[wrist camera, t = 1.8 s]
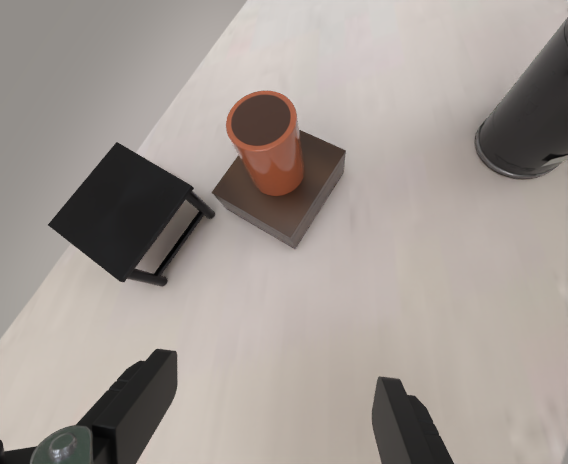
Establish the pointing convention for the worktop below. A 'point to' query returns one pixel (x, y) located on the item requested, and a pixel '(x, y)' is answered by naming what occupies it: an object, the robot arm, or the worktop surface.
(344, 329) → the worktop surface
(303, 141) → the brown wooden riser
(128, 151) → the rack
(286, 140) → the cup
